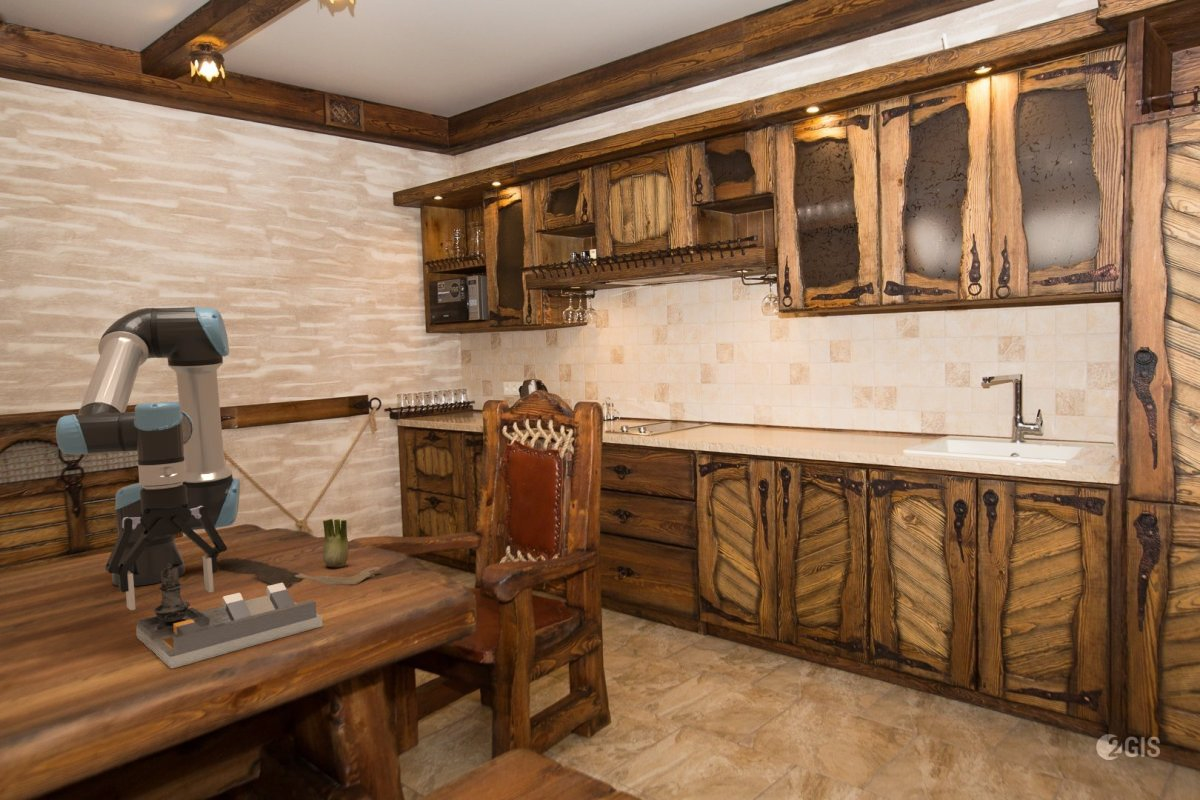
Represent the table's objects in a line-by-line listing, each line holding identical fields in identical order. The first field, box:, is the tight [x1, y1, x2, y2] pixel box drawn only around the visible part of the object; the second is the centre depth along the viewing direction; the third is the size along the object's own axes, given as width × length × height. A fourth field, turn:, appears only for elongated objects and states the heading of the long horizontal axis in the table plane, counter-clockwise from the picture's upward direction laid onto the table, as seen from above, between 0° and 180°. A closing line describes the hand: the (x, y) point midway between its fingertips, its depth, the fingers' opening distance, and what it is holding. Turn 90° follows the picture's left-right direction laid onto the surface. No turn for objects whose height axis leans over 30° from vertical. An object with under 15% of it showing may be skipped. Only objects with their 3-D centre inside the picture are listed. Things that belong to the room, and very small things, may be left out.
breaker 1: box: [221, 592, 252, 621], centre depth 140 cm, size 8×3×2 cm, turn 44°
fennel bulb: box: [322, 518, 349, 568], centre depth 187 cm, size 6×5×12 cm
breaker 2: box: [265, 582, 296, 610], centre depth 145 cm, size 8×3×2 cm, turn 44°
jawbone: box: [294, 566, 382, 586], centre depth 176 cm, size 9×20×2 cm, turn 89°
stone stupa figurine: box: [153, 563, 190, 629], centre depth 142 cm, size 6×6×12 cm
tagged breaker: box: [173, 619, 201, 635], centre depth 135 cm, size 8×3×2 cm, turn 44°
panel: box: [135, 594, 323, 670], centre depth 144 cm, size 22×26×5 cm
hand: (171, 599), depth 142 cm, fingers open, 12 cm apart
